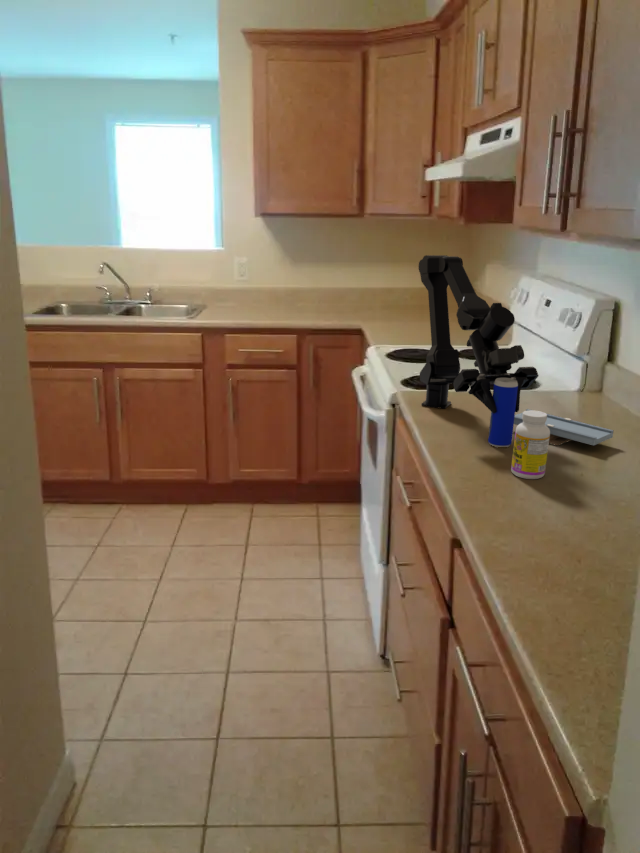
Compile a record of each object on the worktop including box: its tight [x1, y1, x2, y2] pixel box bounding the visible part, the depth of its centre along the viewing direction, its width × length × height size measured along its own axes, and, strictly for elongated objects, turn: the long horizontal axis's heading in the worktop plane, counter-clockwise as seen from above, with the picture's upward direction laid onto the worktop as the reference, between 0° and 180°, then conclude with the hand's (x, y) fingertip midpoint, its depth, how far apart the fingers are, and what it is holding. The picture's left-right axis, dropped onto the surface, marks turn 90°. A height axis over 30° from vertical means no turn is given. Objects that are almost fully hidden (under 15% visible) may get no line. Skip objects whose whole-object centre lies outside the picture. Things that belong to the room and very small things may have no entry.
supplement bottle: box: [510, 409, 550, 480], centre depth 149 cm, size 7×7×13 cm
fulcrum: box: [549, 434, 572, 446], centre depth 175 cm, size 6×11×2 cm, turn 134°
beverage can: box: [487, 378, 518, 448], centre depth 166 cm, size 5×5×15 cm
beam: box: [514, 408, 614, 446], centre depth 174 cm, size 22×9×2 cm, turn 44°
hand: (506, 412), depth 165 cm, fingers closed on beverage can, 5 cm apart
